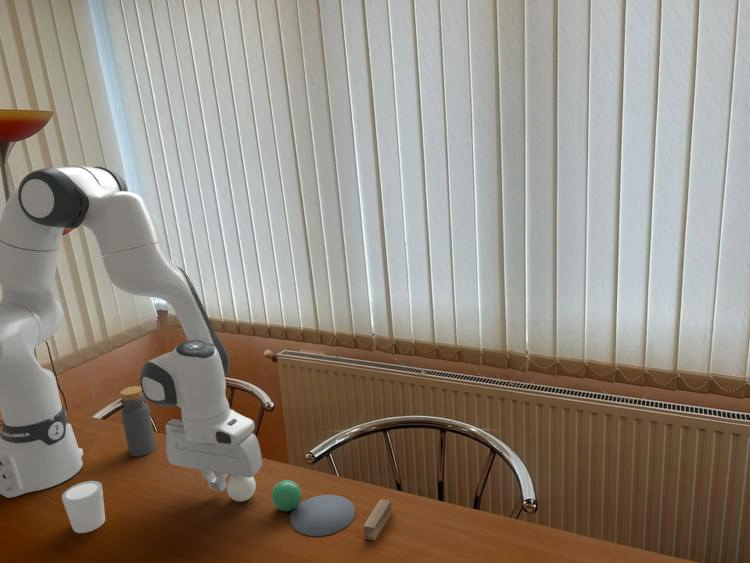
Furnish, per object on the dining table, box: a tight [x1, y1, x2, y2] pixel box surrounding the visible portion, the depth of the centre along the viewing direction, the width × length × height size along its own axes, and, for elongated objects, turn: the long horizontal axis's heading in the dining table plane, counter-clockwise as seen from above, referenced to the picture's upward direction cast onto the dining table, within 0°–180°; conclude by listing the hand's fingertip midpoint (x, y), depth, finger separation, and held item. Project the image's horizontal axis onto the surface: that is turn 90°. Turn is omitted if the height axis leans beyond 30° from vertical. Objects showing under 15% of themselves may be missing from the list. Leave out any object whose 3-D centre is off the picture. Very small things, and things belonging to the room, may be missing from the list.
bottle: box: [120, 385, 157, 457], centre depth 139 cm, size 6×6×15 cm
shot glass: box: [61, 480, 106, 534], centre depth 114 cm, size 7×7×7 cm
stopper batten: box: [362, 498, 393, 542], centre depth 107 cm, size 2×8×2 cm, turn 158°
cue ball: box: [226, 475, 257, 503], centre depth 118 cm, size 6×6×6 cm
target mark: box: [289, 494, 356, 537], centre depth 111 cm, size 12×12×1 cm
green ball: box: [270, 479, 302, 512], centre depth 114 cm, size 6×6×6 cm
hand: (217, 488), depth 120 cm, fingers closed
